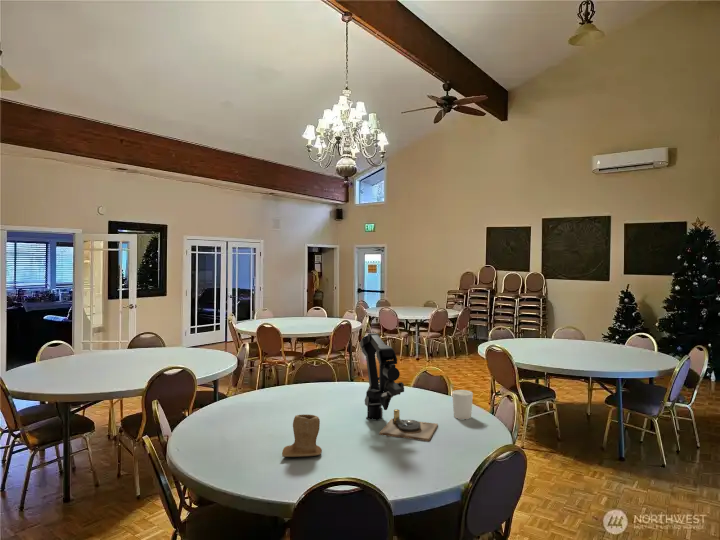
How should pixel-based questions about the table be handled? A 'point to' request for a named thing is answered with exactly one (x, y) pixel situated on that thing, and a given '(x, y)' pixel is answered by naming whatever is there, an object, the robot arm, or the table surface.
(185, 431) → the table surface
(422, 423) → the base plate
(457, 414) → the candle holder
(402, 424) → the dial
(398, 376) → the robot arm
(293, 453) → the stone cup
